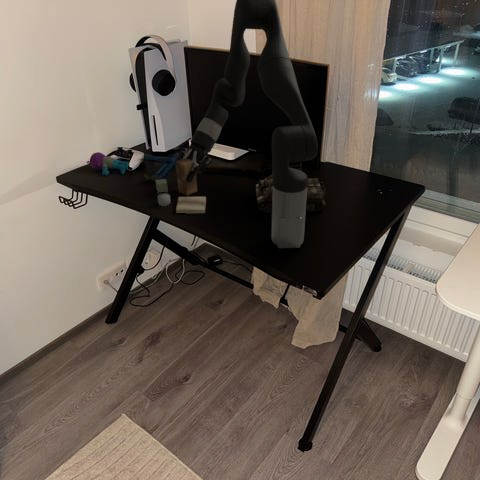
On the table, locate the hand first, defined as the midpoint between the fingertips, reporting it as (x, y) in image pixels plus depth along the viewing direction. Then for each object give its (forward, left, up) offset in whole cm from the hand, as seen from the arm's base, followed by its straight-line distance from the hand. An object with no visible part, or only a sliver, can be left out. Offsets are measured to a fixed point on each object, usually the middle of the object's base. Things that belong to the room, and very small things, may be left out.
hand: (182, 179), depth 152 cm
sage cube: (+3, +8, -6) cm, 10 cm away
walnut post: (+1, -1, -5) cm, 6 cm away
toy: (+22, +30, -6) cm, 38 cm away
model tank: (-8, -35, -6) cm, 37 cm away
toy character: (+20, +8, -6) cm, 23 cm away
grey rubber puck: (-7, +6, -6) cm, 10 cm away
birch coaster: (-9, -3, -6) cm, 11 cm away
